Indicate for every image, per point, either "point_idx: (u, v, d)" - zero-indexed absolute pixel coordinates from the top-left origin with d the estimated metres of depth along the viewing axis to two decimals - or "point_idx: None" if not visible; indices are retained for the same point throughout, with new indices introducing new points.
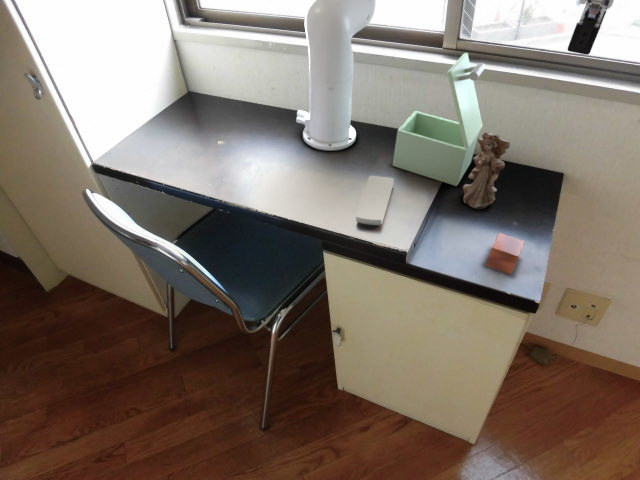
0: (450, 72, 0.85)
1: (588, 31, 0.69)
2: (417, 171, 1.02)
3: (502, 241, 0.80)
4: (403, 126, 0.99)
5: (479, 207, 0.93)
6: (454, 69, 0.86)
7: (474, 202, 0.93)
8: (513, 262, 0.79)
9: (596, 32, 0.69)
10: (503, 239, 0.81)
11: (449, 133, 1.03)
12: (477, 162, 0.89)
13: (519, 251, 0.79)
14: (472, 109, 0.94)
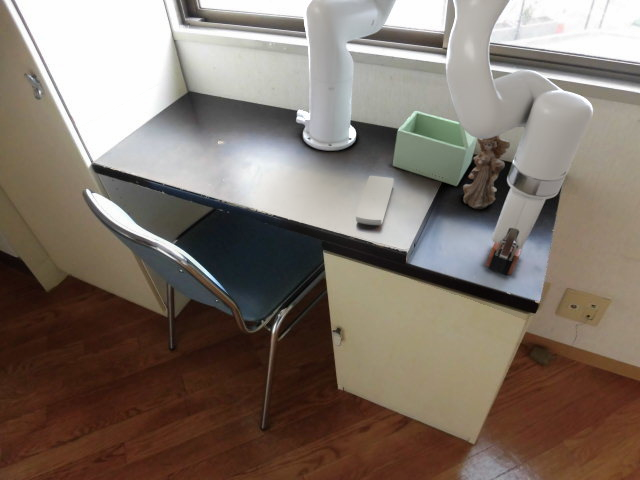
0: None
1: (503, 261, 0.78)
2: (417, 171, 1.02)
3: None
4: (403, 126, 0.99)
5: (479, 207, 0.93)
6: None
7: (474, 202, 0.93)
8: (513, 262, 0.79)
9: (511, 261, 0.78)
10: None
11: (449, 133, 1.03)
12: (477, 162, 0.89)
13: (519, 251, 0.79)
14: None
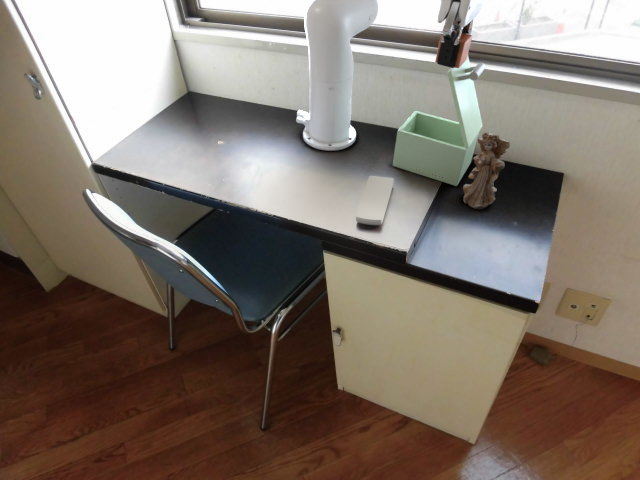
0: (450, 72, 0.85)
1: (450, 48, 0.80)
2: (417, 171, 1.02)
3: None
4: (403, 126, 0.99)
5: (479, 207, 0.93)
6: (454, 69, 0.86)
7: (474, 202, 0.93)
8: (460, 52, 0.81)
9: (457, 49, 0.81)
10: None
11: (449, 133, 1.03)
12: (477, 162, 0.89)
13: (466, 40, 0.81)
14: (472, 109, 0.94)
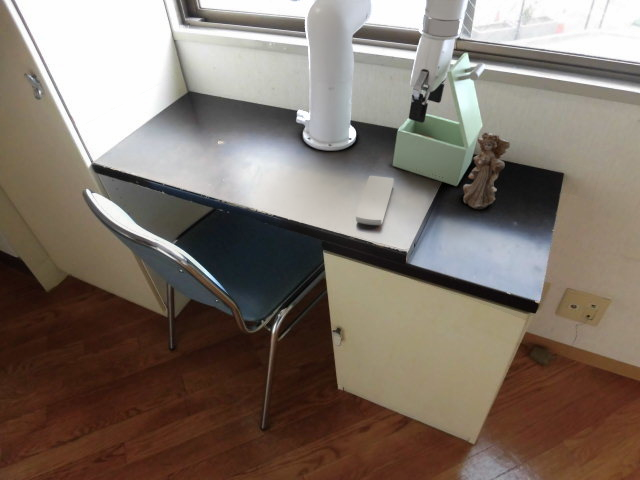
0: (450, 72, 0.85)
1: (419, 107, 0.92)
2: (417, 171, 1.02)
3: None
4: (403, 126, 0.99)
5: (479, 207, 0.93)
6: (454, 69, 0.86)
7: (474, 202, 0.93)
8: None
9: (425, 107, 0.92)
10: None
11: (449, 133, 1.03)
12: (477, 162, 0.89)
13: None
14: (472, 109, 0.94)
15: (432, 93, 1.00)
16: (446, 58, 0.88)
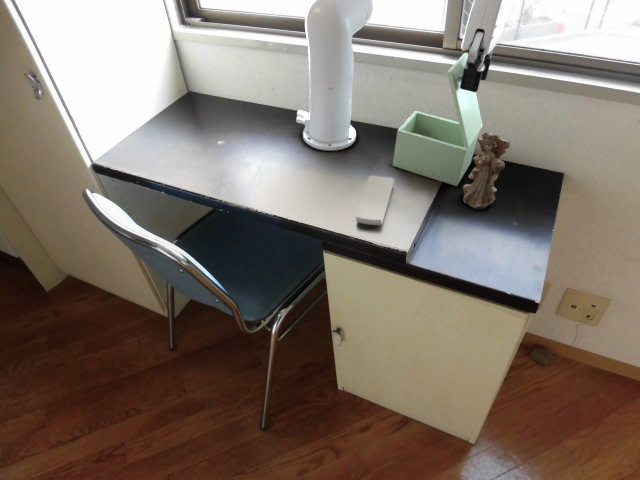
0: (450, 72, 0.85)
1: (473, 74, 0.85)
2: (417, 171, 1.02)
3: None
4: (403, 126, 0.99)
5: (479, 207, 0.93)
6: (454, 69, 0.86)
7: (474, 202, 0.93)
8: None
9: (480, 75, 0.85)
10: None
11: (449, 133, 1.03)
12: (477, 162, 0.89)
13: None
14: (472, 109, 0.94)
15: None
16: (503, 16, 0.79)
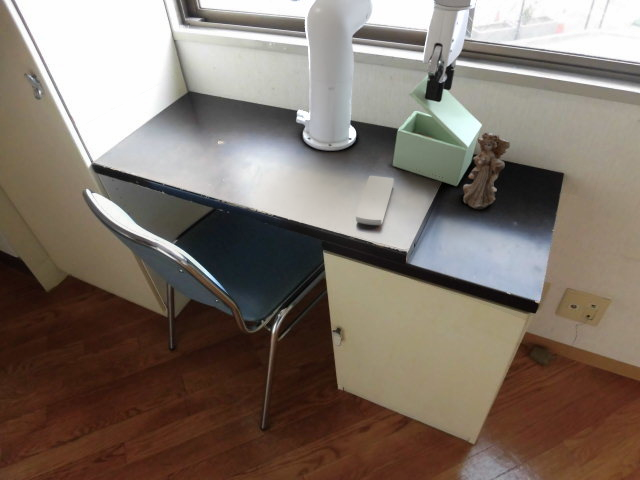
0: (411, 93, 0.92)
1: (435, 85, 0.89)
2: (417, 171, 1.02)
3: None
4: (403, 126, 0.99)
5: (479, 207, 0.93)
6: (415, 89, 0.92)
7: (474, 202, 0.93)
8: None
9: (442, 86, 0.90)
10: None
11: None
12: (477, 162, 0.89)
13: None
14: (458, 114, 0.96)
15: None
16: (460, 31, 0.84)
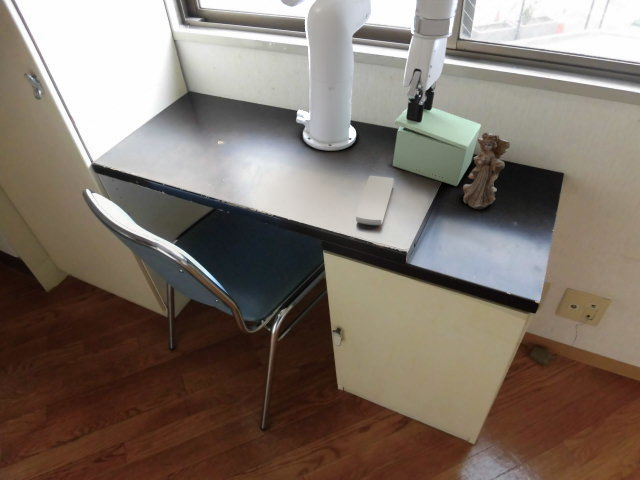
0: (396, 121, 0.97)
1: (415, 107, 0.94)
2: (417, 171, 1.02)
3: None
4: None
5: (479, 207, 0.93)
6: (399, 117, 0.98)
7: (474, 202, 0.93)
8: None
9: (422, 107, 0.94)
10: None
11: None
12: (477, 162, 0.89)
13: None
14: (451, 123, 0.98)
15: None
16: (438, 57, 0.89)
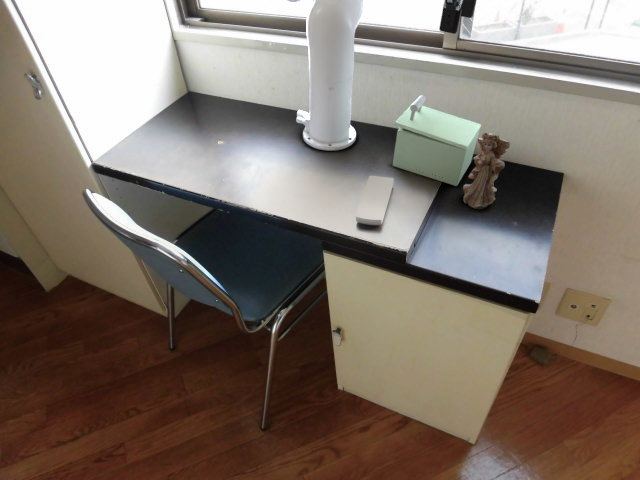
0: (395, 123, 0.97)
1: (451, 13, 0.83)
2: (417, 171, 1.02)
3: None
4: None
5: (479, 207, 0.93)
6: (399, 119, 0.98)
7: (474, 202, 0.93)
8: None
9: (459, 14, 0.83)
10: None
11: None
12: (477, 162, 0.89)
13: None
14: (451, 124, 0.98)
15: (463, 6, 0.91)
16: None
